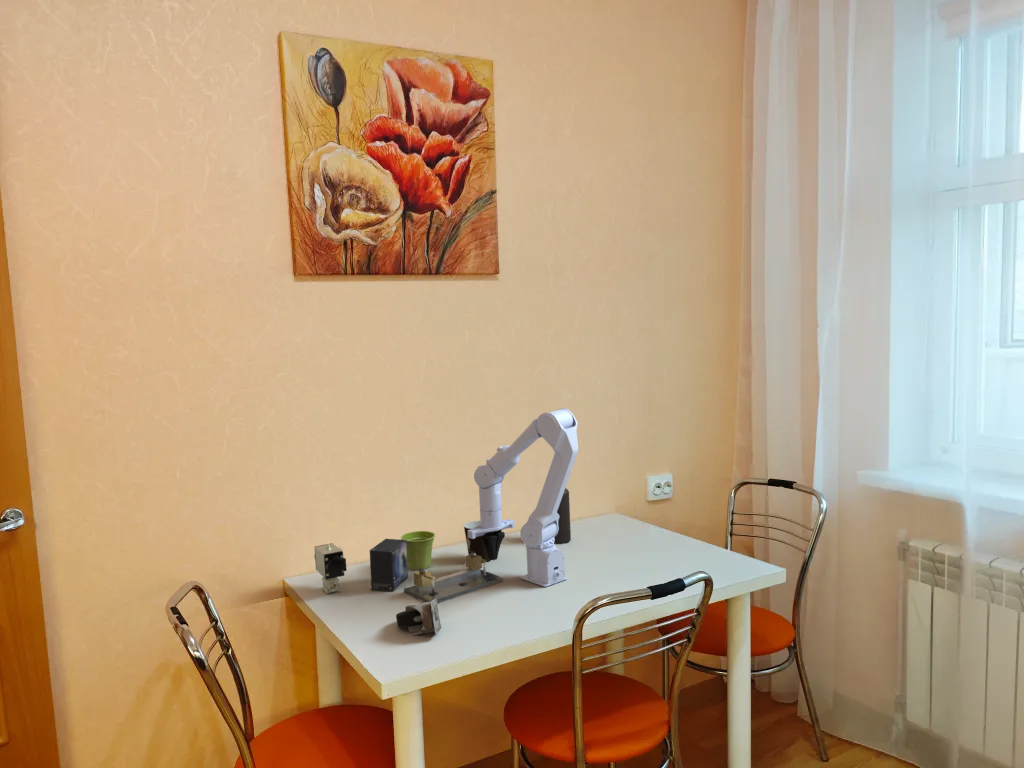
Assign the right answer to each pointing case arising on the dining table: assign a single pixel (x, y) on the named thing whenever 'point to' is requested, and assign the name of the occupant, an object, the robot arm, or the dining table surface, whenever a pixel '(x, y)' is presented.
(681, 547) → the dining table surface
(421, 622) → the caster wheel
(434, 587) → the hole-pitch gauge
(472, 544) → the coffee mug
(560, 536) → the bottle
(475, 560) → the sliding leg
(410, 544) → the plant pot
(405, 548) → the small box
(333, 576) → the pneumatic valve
